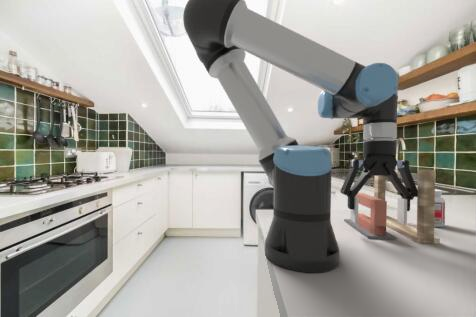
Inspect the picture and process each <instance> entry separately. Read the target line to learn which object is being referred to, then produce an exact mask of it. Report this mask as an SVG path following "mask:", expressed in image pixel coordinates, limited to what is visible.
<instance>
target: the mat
mask: <svg viewBox="0 0 476 317" xmlns="http://www.w3.org/2000/svg"><path fill="white" fill-rule="evenodd" d="M343 222H345V223H346V224H348V225H349V226H350V227H351V228H353V229H355V231H357V232H359V233H360V234H361V235H363V236H364V237H366V239H373V240H375V239H377V240H396V241H397V236H395V235H394V234H392V233H390V232H388V231H387V230H386V236H384V235H373V234H372V233H370V232H369V231H367V230H366V229H364V228H363V227H361V226H360V225H358V224H357V223H355V222H353V221H352V220H351V218H349V219H348V218H344V219H343Z"/></svg>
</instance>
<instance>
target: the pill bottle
mask: <svg viewBox="0 0 476 317" xmlns="http://www.w3.org/2000/svg"><path fill="white" fill-rule="evenodd" d="M442 195H443V190H441V189H435V218H434V228H443V227H445V225H446V221H445V220H446V200H445V198H444V197H442Z"/></svg>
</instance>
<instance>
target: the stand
mask: <svg viewBox="0 0 476 317" xmlns="http://www.w3.org/2000/svg"><path fill="white" fill-rule="evenodd" d="M395 172H396V173H397V175H398V178H399V179H402V177H401V175H400V172H399V171H395ZM411 175H412V177H413V180H414V181H417V197H416V198H417V200H416V201H417V202H416V227H414V226H412V225H409V224H408V223H407V225H404V224H401V223H399V222H397V218H393V217H392V216H389V215H386V228H387V227H388V228H389V229H391V230H393V231H395V232H397V233H399V234H400V235H403V236H404V237H407V238H408V239H410V240H412V241H414V242H416V243H418V244H437V245H440V243H441V242H440V241H441V239H440V238H439V237H436V236H435V227H434V218H435V190H436V170H435V169H433V170H432V169H417V173H414V172H411ZM386 178H387V177H386V176H382V175H378V176H374V179H373V180H374V185H373V186H374V189H373V190H374V192H373V195H374V196H373V197H375V198H378V199H381V200H384V201H386V184H387V182H386ZM369 217H370V218H371V213H370V214H369Z"/></svg>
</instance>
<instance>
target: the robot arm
mask: <svg viewBox="0 0 476 317" xmlns="http://www.w3.org/2000/svg"><path fill="white" fill-rule="evenodd" d="M182 14H183V16H182V17H183V18H182V20H183V27H184V30H185V32H186V35H187V37H188V38H189V41H190V43H191V45H192V46H193V48H194V51H195V53H196V56H197V58H198V59H199V61H200V62H201V63H202V65H203V66H204V68H205V70H206V72H207V74H208V75H209V76H210V77H211V78H214V79H218V82H219V84H220V85H221V87H222V88H223V90H224V92H225V93H226V96H227V98H228V99H229V100H230V102H231V105H232V106H233V108H234V109H235V111H236V113H237V114H238V116H239V118H240V120H241V122H242V123H243V125H244V127H245V129H246V130H247V133H248V134H249V135H250V137H251V139H252V141H253V143H254V144H255V146H256V148H257V150H258V151H259V154H258V158H257V160H258V163H259V164H260V166H261V167H262V169H263V171H264V173H265V175H266V176H267V179H268V182H269V184H270V185H271V186H272V188H273V214H272V215H273V216H272V220H271V222H270V226H269V229H268V232H267V233H266V234H267V235H266V238H265V242H264V254H265V256H266V258H267V259H268V260H270V261H271V262H272V263H273V264H275V265H277V266H280V267H282V268H284V269H288V270H292V271H296V272H301V273H323V272H328V271H331V270H334V269H336V268H337V267H339V265H340V259H341V258H340V251H341V250H340V247H339V244H338V241H337V239H336V235H335V231H334V228H333V225H332V221H331V218H332V217H331V215H332V214H331V211H332V210H331V208H332V169H333V162H332V154H331V151H330V150H329V149H328V148H326V147H322V146H317V145H316V146H315V145H314V146H313V145H299V143H298V141H297V139H296V138H294V137H291V136H288V135H287V134H286V132H285V130H284V128H283V127H282V125H281V122H280V121H279V119H278V118H277V116H276V114H275V113H274V111H273V109H272V108H271V106H270V104H269V102H268V101H267V99H266V97H265V96H264V94H263V92H262V90H261V89H260V87H259V85H258V83H257V81H256V80H255V78H254V77H253V75H252V74H251V71H250V69H249V68H248V66H247V64H246V63H245V59H246V54H247V53H248V54H251V55H252V56H254V57H256V58H258V59H259V60H262V61H265V62H266V63H268V64H270V65H272V66H275V67H276V68H278V69H280V70H282V71H285V72H287V73H289V74H290V75H293V76H294V77H296V78H299V79H301V80H303V81H305V82H307V83H309V84H311V85H313V86H315V87H317V88H319V89H321V90H322V91H321V92H320V94H319V96H318V101H317V112H318V113H317V114H318V115H319V117H320V118H322V119H330V120H333V119H363V122H362V123H363V124H362V125H363V130H362V131H363V134H362V135H363V137H362V138H363V140H364V142H363V144H362V156H363V157H362V159H355V158H354V159H351V160H350V163H349V164H350V165H349V166H350V167H349V169H348V172H347V175H346V177H345V179H344V181H343V184H342V186H341V189H340V193H341V194H342V195H345V196H347V208H348V209H349V210H350V219H351V220H352V221H353V222H355V223H358V213H359V203H358V198H357V197H355V196H356V195H357V194H358V193H359V192H360V191H361V190H362V188H363V187H364V186H365V185H366V183H367V182H368V180H369V179H370V178H372V176H374V177H375V176H378V175H382V176H386V178H387V179H388V180H389V181H390V183H391V185H393V187H394V189H395V190H396V191H397V193H398V194H399V196H400V197H397V208H396V211H397V212H396V216H397V218H396V220H397V222H399V223H401V224H404V225H407V224H408V212H410V211H411V201H412V200H414V198H417V189H418V187H417V185H416V183H415V180H413V177H412V175H411V173H412V172H411V169H410V161H409V160H407V159H406V160H405V159H400V160H398V159H396V155H397V144H398V143H397V141H396V139H398V138H397V137H398V127H397V126H398V124H397V123H398V99H399V95H398V86H399V75H398V73H397V71H396V69H395V68H394V67H393V66H391V65H390V64H388V63H386V62H385V63H384V62H375V63H372V64H369V65H364V64H361V63H359V62H356V61H355V60H353V59H351V58H349V57H347V56H345V55H343V54H341V53H339V52H336V51H334V50H333V49H331V48H328V47H327V46H324V45H323V44H320V43H318V42H316V41H314V40H312V39H310V38H308V37H307V36H304V35H302V34H300V33H298V32H296V31H294V30H292V29H290V28H288V27H286V26H284V25H283V24H280V23H279V22H276V21H274V20H272V19H270V18H268V17H265V16H264V15H261V14H260V13H257V12H255V11H254V10H252V9H250V8H248V5H247V3H246V0H188V1H187V3H186V4H185V7H184V10H183V13H182ZM246 52H247V53H246ZM361 166H363V170H362V172H361V173H360V176H358V177H357V173H358V172H359V169H360V168H361ZM396 167H397V169H398V172H400V175H401V177H402V178H398V175H397V173H396V172H397V171H396V172H395V168H396ZM356 177H357V178H358V179H356ZM355 179H356V180H355ZM401 180H402V181H401ZM354 181H355V182H354Z"/></svg>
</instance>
